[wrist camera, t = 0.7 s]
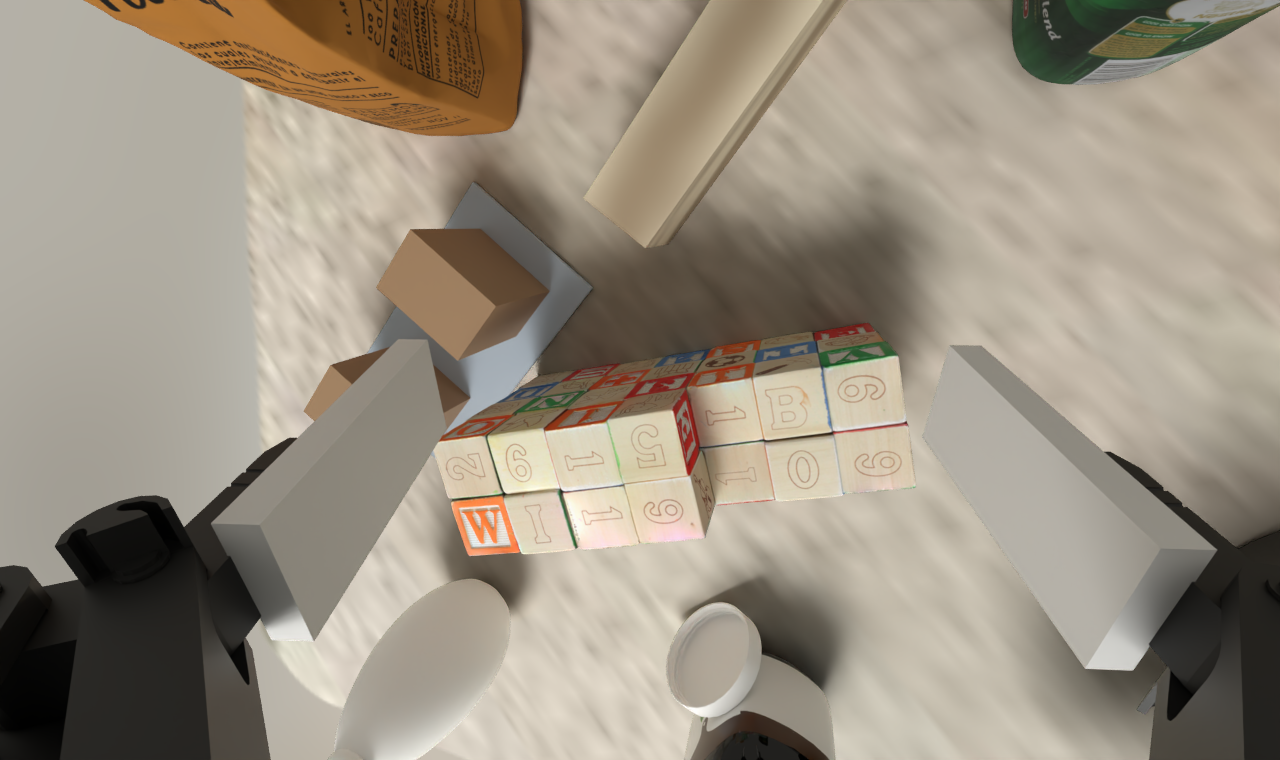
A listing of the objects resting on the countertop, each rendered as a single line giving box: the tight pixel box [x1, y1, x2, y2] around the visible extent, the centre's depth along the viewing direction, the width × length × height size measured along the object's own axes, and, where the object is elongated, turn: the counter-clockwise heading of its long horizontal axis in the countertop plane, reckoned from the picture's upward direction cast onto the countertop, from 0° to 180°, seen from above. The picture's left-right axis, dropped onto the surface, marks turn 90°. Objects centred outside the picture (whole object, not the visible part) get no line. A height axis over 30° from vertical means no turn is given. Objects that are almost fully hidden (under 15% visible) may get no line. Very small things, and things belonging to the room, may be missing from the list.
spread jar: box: [666, 602, 835, 760], centre depth 34 cm, size 12×11×12 cm
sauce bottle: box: [328, 579, 510, 760], centre depth 35 cm, size 8×8×18 cm
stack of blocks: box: [433, 323, 916, 556], centre depth 29 cm, size 21×6×12 cm, turn 103°
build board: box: [304, 182, 593, 458], centre depth 34 cm, size 10×18×7 cm, turn 140°
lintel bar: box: [583, 0, 847, 248], centre depth 27 cm, size 4×18×6 cm, turn 143°
